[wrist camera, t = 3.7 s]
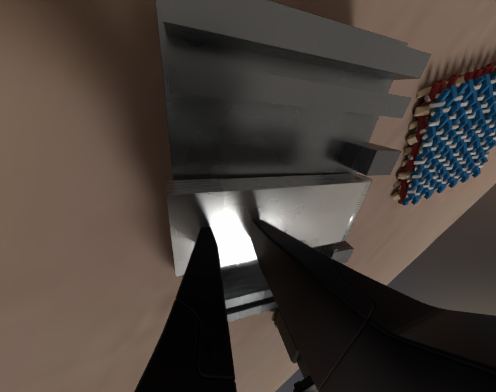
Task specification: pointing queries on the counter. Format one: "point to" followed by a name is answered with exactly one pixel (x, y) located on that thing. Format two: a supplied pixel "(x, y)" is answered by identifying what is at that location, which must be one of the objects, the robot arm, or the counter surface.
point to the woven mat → (449, 134)
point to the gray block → (261, 211)
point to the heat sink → (275, 104)
